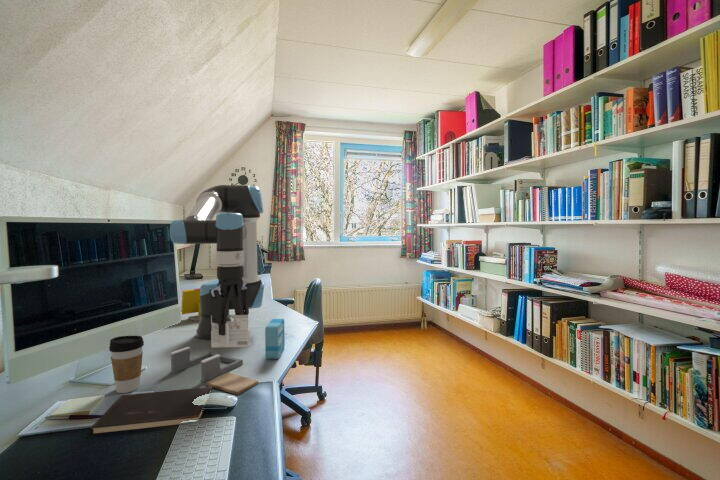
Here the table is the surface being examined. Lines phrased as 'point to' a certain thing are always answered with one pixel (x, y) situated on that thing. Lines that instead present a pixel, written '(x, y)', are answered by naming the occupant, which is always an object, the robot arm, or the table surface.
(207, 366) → the grey u-shaped frame
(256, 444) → the table surface
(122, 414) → the hardcover book
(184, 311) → the yellow and white box
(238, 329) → the ink cartridge box
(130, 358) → the coffee cup
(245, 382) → the walnut mat
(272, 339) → the data package
